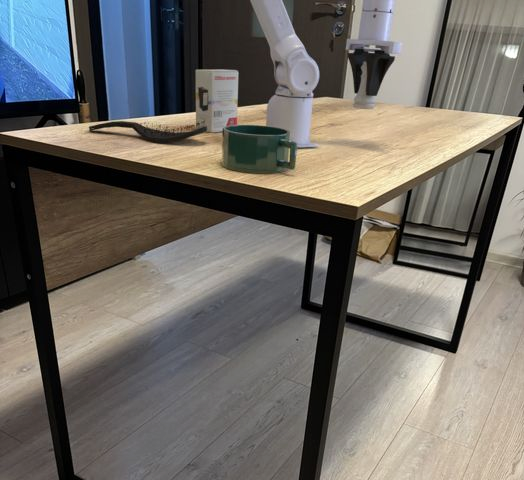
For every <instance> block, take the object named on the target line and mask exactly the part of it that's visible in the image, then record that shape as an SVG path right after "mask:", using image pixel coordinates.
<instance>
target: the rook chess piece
mask: <svg viewBox="0 0 524 480" xmlns="http://www.w3.org/2000/svg"><path fill="white" fill-rule="evenodd" d="M361 69H362V75H361V84H360V88H359V91H358V93H357V94H356V95H355V96H354V98H353V101H354V103H352V107H353V108H355V109H358V110H359V109H360V110H374V109H375V107H376V106H375V103H376V98H375V96H367V95H366V82H367V65H366V62H363V65H362V66H361Z"/></svg>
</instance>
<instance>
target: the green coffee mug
mask: <svg viewBox="0 0 524 480" xmlns="http://www.w3.org/2000/svg"><path fill="white" fill-rule="evenodd" d="M221 136H222V139H221V141H222V142H221V143H222V145H221V164H222V167H224V168H225V169H228V170H230V171H234V172H238V173H239V172H240V173H245V174H246V173H247V174H277V173H282V172H285V171H287V170H290V171H293V170H295V169H296V165H297V154H298V148H297V143H296V142H293V141H290V137H291V132H290V131H289V130H286V129H283V128H278V127H271V126H266V125H263V124H262V125H261V124H237V125H230V126H225V127H223V131H222V135H221Z"/></svg>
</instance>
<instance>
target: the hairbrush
mask: <svg viewBox="0 0 524 480" xmlns="http://www.w3.org/2000/svg"><path fill="white" fill-rule="evenodd" d="M201 123H202V122H201ZM203 123H204V124H205V120H204V121H203ZM149 124H150V123H149V122H148V123H147V124H146V122H145V121H144V125H143V124H142V122H140V123H138V122H134V121H124V120H117V121H116V120H115V121H109V122H103V123H98V124H95V125H90V126H88V129H89V132H92V131H97V130H101V129H109V128H127V129H132V130H134V132H136V133H137V134H138V135H139V136H140V137H141V138H143V139H144V140H146V141H148V142H151V143H159V144H166V143H168V144H169V143H176V142H179V141H180V142H181V141H182V140H186V139H189V138H191V137H195V136H198V135H201V134H203V133H205V132H206V131H207V126H205V127H202V126H203V124H202V126H201V128H198V129H197V130H196V128H197V127H196V126H197V125H198V126H199V125H200V123H198V122H197V124H196V123H195V124H190V125H186V126H184V125H183V126H179V127H178V126H171V127H170V126H169V125H167V126H165V125H164V127H163V128H162V125H161V124H159V125H158V123H156V125H155V126H158V127H155V128H152V126H154V124H153V123H151V124H150V125H149ZM148 125H149V126H148ZM158 128H159V129H158ZM160 129H162V130H160ZM189 129H190V131H186V130H189ZM179 130H180V132H179ZM206 133H207V132H206Z"/></svg>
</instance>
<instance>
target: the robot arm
mask: <svg viewBox="0 0 524 480" xmlns="http://www.w3.org/2000/svg"><path fill="white" fill-rule="evenodd" d="M249 1H250V4H251V7H252V8H253V11H254V13H255V15H256V17H257V20H258V22H259V24H260V28H261V29H262V32H263V35H264V36H265V39H266V41H267V44H268V46H269V53H270V57H271V60H272V63H273V70H274V71H273V72H274V73H273V75H274V80H275V82H276V84H277V88H276V89H275V94H274V95H272V96H271V97H270V98H269V100H268V103H267V106H266V114H265V115H266V117H265V126H271V127H278V128H283V129H286V130H289V131H290V132H291V137H290V141H293V142H296V143H297V149H298V148H299V149H300V148H317V147H318V143H314V142H311V141H310V135H311V127H312V126H311V124H312V114H313V104H314V93H313V91H314V90H315V89H316V87H317V85H318V83H319V80H320V69H319V65H318V64H317V62H316V61H315V60H314V59H313V58H312V57H311V56H310V55H309V54H308V52H307V50H306V48H305V45H304V44H303V42H302V41H301V40H300V38H299V37H298V36H297V34H296V32H295V28H294V26H293V24H292V22H291V19H290V17H289V14H288V11H287V9H286V7H285V4H284V1H283V0H249ZM395 5H396V0H362V5H361V6H362V7H361V12H360V21H359V29H358V36H357V38H346V45H345V50H346V51H353V52H347V59H348V62H349V64H350V68H351V73H352V82H353V92H354V94H356V95H357V93H358V91H359V88H360V84H361V75H362V69H361V66H362V65H363V62H366V65H367V82H366V95H367V96H374V97H377V96H378V93H379V91H380V89H381V86H382V83H383V80H384V78H385V76H386V74H387V72H388V71H389V70H390V68H391V66H392V65H393V63H394V62H395V60H396V56H394V55H401V52H402V45H403V41H393V40H390V37H391V36H390V35H391V30H392V24H393V16H394V11H395ZM370 46H375V47H374V48H370Z"/></svg>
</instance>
